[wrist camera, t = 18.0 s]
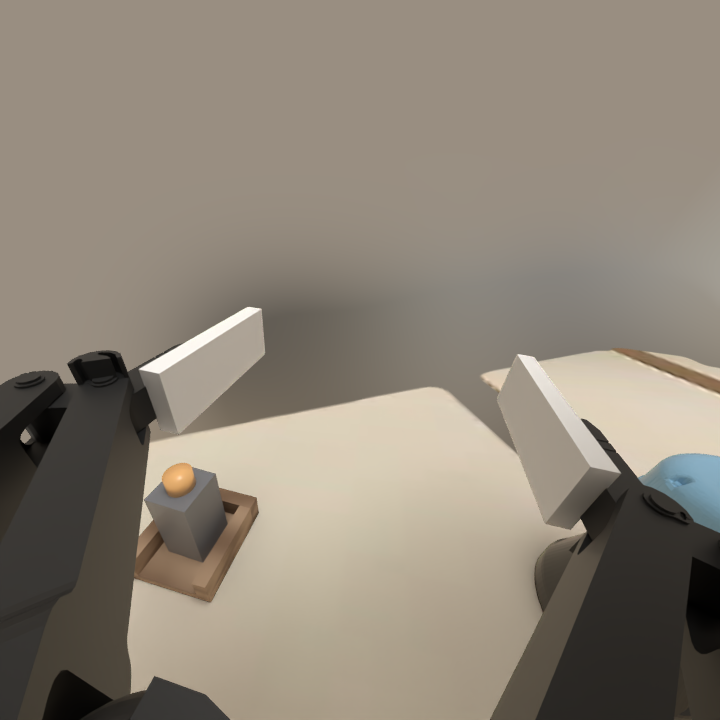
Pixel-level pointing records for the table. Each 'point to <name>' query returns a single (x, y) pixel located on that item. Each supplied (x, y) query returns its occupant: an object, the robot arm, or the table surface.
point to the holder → (189, 573)
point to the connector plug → (188, 511)
